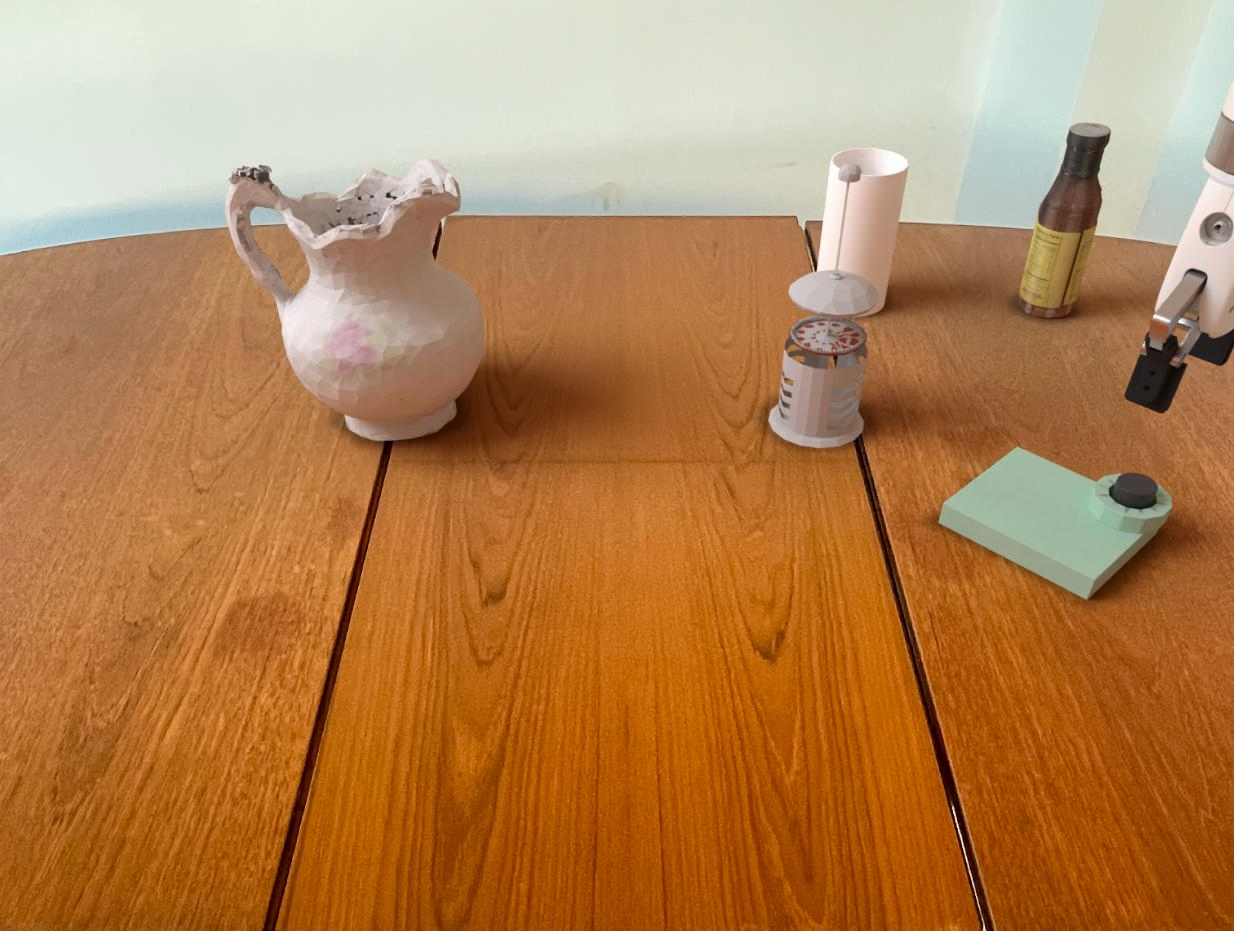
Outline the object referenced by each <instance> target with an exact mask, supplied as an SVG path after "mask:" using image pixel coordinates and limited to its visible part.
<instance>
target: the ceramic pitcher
mask: <svg viewBox="0 0 1234 931" xmlns="http://www.w3.org/2000/svg"><path fill="white" fill-rule="evenodd" d="M231 173H232V174H231V176H230V177H229V178H228V182H229V183H228V184H229V185H228V189H227V193H226V196H225V205H224V215H225V219H226V223H227V226H228V231H229V233H230V237H231V239H232V242H233V245H234V248H235V250H236V252H237V255H238V256H239V257H240V259H241V260H242V262H243V263H244V264H245V265H246V266H247V267H248V269H249V270H250V272H251V274H252V275H253V277H254V279H255V281H256V283H257V284H259V285H260V286H261V287H262V288H264V289H265V290H267V292H268V293H269V294H270V295H271V297H272V298H273V299H274V300H275V303H276V307H277V312H278V317H279V321H280V324H281V335H282V340H283V346H284V348H285V353H286V358H287V359H288V361H289V364H290V365H291V368H292V370H293V372H294V373H295V375H296V377H297V379H298V380H299V381H300V383H301V384H302V386H303V387H304V388H305V389H306V390H307V391H308V392H309V393H310V394H311V395H313V397H315V398H316V399H317V400H318V401H320V402H321V403H323V404H324V405H326V406H327V407H328V408H330V409H331V410H333V411H334V412H336V413H339V414H342V415H344V420H345V423H346V427H347V428H348V429H349V431H350V432H353V433H354V434H356V435H358V436H360V437H361V438H363V439H369V440H370V441H375V442H384V441H386V442H387V441H389V442H390V441H402V440H413V439H416V438H419V437H424V436H425V437H426V436H428V435H431V434H434V433H437V432H439V431H440V430H441V429H442V428H443V427H445V425H446V424H448V423H449V422H452V421H453V420H454V418H455V417H456V416H457V412H458V410H457V403H456V400H457V399H458V398H459V397H460V396H461V395H462V394H463V393H464V391H465V390H466V389H467V388H468V386H469V385H470V383H471V381H472V380H473V378H474V376H475V374H476V372H477V370H478V368H479V366H480V364H481V362H482V358H483V354H484V351H485V346H486V345H485V344H486V337H485V335H486V332H485V320H484V315H483V311H482V307H481V303H480V300H479V298H478V296H477V294H476V292H475V290H474V289H473V287H472V286H471V285H470V284H469V283H468V282H467V281H466V280H465V279H464V278H463V277H462V276H461V275H459V274H458V273H457V272H454V271H453V270H450V269H448V268H446V267H444V266H443V265H441V264H438V262H437V261H436V260H435V257H434V254H433V253H434V252H433V249H432V248H433V247H432V241H431V239H432V236H433V233H434V231H435V229H436V228H437V227H438V225H439V224H440V222H441V221H442V220H443V219H445V218H446V217H448V216H450V215H451V214H454V213H456V212H460V209H461V202H462V196H461V190H460V186H459V183H458V181H456V179H455V177H454V176H453V175H452V174H451V172H449V170H448V169H447V168H446V167H444V166H443V165H442V164H441V163H440V161H439V159H432V158H430V159H421V160H418V161H416V163H414V164H413V165H412V167H411V169H410V170H409V171H408V173H407V174H406V175H405V176H404V177H397V176H393V175H388V174H385V173H384V172H383V171H380V170H378V169H376V168H372V169H370V170H367V171H365V172H364V173H362V175H360V176H359V177H358V178H356V179H355V180H353V182H352V183H351V184H350V185H349V186H348V187H347V188H346V189H345V191H343V192H342V194H334V193H332V192H325V191H315V192H312V193H311V192H310V193H307V194H303V195H301V196H299V197H297V198H296V197H290V196H288V195H285V194H283V192H282V190H281V189H280V187H278V185H277V184H275V183H273V181H272V180H271V178H270V177H271V176H270V173H273V171H272V168H271V166H270V165H265V164H260V163H259V165H258V166H257V167H256V166H255V167H254V166H245V165H242V166H241V168H240V167H233V170H232V171H231ZM256 207H260V208H265V209H271V210H274V212H276V213H277V214H278V216H280V218H282V220H284V223H286V226H287V227H288V229H289V231H290V232H291V234H292V235H293V236H294V238H295V239H296V241H297V242H298V244H299V246H300V247H301V249H302V250H303V253H304V255H305V258H306V262H307V264H308V268H309V277H308V280H307V282H306V283H305V284H304V285H303V286H302V287H301V288H300V289H299V290H298V291H297V292H292V291H291V289H290V288H289V287H288V286H287V284H286V283H285V281H284V279H283V278H282V276H281V274H280V271H279V270H278V267H277V266H276V265H275V263H274V262H273V261H272V260H271V259H270V258H269V256H268V255H267V254H266V252H265V251H264V250H263V249H262V247H261V246H260V245H259V243H258V242H257V241H256V239H255V235H254V230H253V226H252V222H251V212H252V211H253V210H254V209H255V208H256Z"/></svg>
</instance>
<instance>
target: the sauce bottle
mask: <svg viewBox="0 0 1234 931" xmlns="http://www.w3.org/2000/svg"><path fill="white" fill-rule="evenodd" d="M1111 136H1112V129H1111V128H1110V127H1109V126H1107V125H1104V124H1102V123H1097V122H1077V123H1075V124H1073V125H1071V126H1070V127H1069V128H1068V133H1067V136H1066V138H1065V139H1066V140H1065V142H1066V147H1065V152H1064V156H1063V160H1062V163H1061V165H1060V168H1059V172H1058V173H1057V175H1056V177H1055V179H1054V181H1053V183H1052V185H1051V187H1050V189H1049V190H1048V192H1047V194H1046V195H1045V196H1044V198H1043V200H1041V202H1040V204H1039V207H1038V209H1037V210H1038V211H1037V215H1036V219H1035V223H1034V227H1033V232H1032V236H1031V241H1030V245H1029V249H1028V253H1027V257H1026V262H1025V266H1024V269H1023V272H1022V273H1023V274H1022V277H1021V282H1020V285H1019V289H1018V294H1019V298H1018V305H1019V308H1020V310H1022V311H1023V312H1024V313H1026V314H1027V315H1030V317H1031V316H1032V317H1035V318H1037V319H1060V318H1064V317H1066V316H1067V315H1069V314H1071V312H1072V310H1073V309H1074V305H1075V301H1076V300H1077V298H1078V294H1079V291H1080V287H1081V283H1082V280H1083V276H1084V274H1085V269H1086V266H1087V262H1088V258H1089V254H1090V252H1091V247H1092V244H1093V240H1094V236H1095V234H1096V230H1097V227H1098V222H1099V221H1098V218H1099V215H1100V211H1101V208H1102V205H1103V196H1102V191H1103V188H1102V186H1101V184H1100V178H1099V173H1100V172H1101V164H1102V161H1103V155H1104V153H1105V149H1106V147H1107V146H1108V144H1109V143H1110V141H1111V140H1110V139H1111Z"/></svg>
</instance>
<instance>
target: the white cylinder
mask: <svg viewBox="0 0 1234 931" xmlns="http://www.w3.org/2000/svg"><path fill="white" fill-rule="evenodd" d="M850 163H853V164H856V165H858V167H859V168H860V169H861V178H860V180H859V181H858V182H852V183H850V184H849V192H848V199H847V206H846V213H845V220H844V228H843V235H842V242H841V249H840V257H839V264H838V270H840V271H845V272H849V273H852V274H855V275H859V276H861V277H863V278H864V279H865V280H867V281H868V282H869V283H871V284H872V285H873V286H874V287H875V288H876V290H877V291H878V293H879V300H878V303H877V304H876V306H875V307H873V308H872V309H871V310H870V311H869V312H867V313H865V314H862V315H859V316H856V317H855V318H860V317H861V318H862V317H866V316H867V317H868V316H872V315H874V314H876V313H878V312H880V311H881V310H882V309H883V308H884V306H885V303H886V297H887V290H888V286H889V280H890V274H891V268H892V263H893V262H892V261H893V258H894V251H895V246H896V241H897V234H898V230H899V224H900V218H901V212H902V206H903V201H904V194H905V191H906V190H905V189H906V183H907V177H908V172H909V161H908V159H907V158H906V157H905V156H903V155H901V154H900V153H897V152H894V151H891V150H888V149H882V148H873V147H858V148H857V147H856V148H849V149H844V150H842V151H839V152H837V153H834V155H832V156H831V159H830V163H829V171H828V178H827V188H826V194H825V201H824V202H825V204H824V209H823V210H824V211H823V219H822V227H821V235H820V243H819V253H818V258H817V266H816V267H817V268H816V272H817V271H826V270H835V268H836V261H837V253H838V246H839V239H840V231H841V224H842V217H843V209H844V202H845V194H846V187H847V182H843V181H840V180H839V179H838V172H839V170H840V168H841V167H842V166H843V165H845V164H850Z"/></svg>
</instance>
